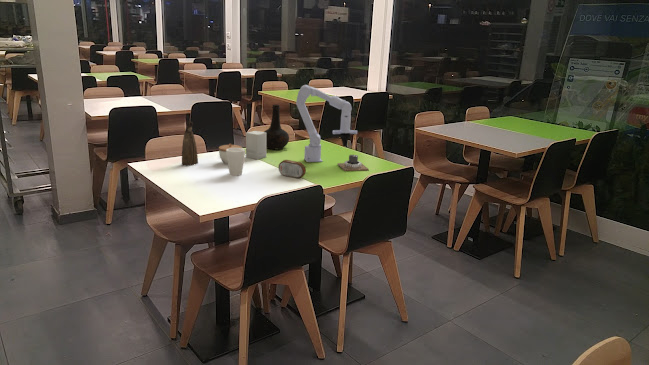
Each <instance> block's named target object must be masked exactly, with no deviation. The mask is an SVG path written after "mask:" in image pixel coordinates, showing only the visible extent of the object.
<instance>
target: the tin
mask: <svg viewBox="0 0 649 365" xmlns="http://www.w3.org/2000/svg"><path fill="white" fill-rule="evenodd" d="M278 172H279V173H280V175H283V177H284V176H285V177H289V178H295V179H300V178H302V177H305V175H306V173H307V169H306V166H305V165H304V164H303V162H300V161H295V160H290V159H283V160H282V161H280V163H278Z"/></svg>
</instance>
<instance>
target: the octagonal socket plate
mask: <svg viewBox="0 0 649 365" xmlns="http://www.w3.org/2000/svg"><path fill="white" fill-rule="evenodd" d="M337 166H338V167H339V168H341V170H343V171H344V172H358V171H359V172H361V171H369V170H370V169H369V168H368V167H367V166H366V165H365V164H364V163H362V162H361V161H359V160H358V163H357V164H350V163H349V159H348V160H345V161H344V162H340V163H339V162H338V163H337Z"/></svg>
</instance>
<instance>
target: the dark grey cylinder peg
mask: <svg viewBox="0 0 649 365" xmlns="http://www.w3.org/2000/svg"><path fill="white" fill-rule="evenodd" d="M348 160H349V163H350V164H357V163H358V161H359V155H357V154H349V155H348Z"/></svg>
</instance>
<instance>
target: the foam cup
mask: <svg viewBox="0 0 649 365" xmlns="http://www.w3.org/2000/svg"><path fill="white" fill-rule="evenodd" d="M226 155H227V160H228V164H227V165H228V172H229V175H230V176H233V177H238V176H242V175H243V169H244V160H245V156H246V148H243V147H242V148H228V149H226Z"/></svg>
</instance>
